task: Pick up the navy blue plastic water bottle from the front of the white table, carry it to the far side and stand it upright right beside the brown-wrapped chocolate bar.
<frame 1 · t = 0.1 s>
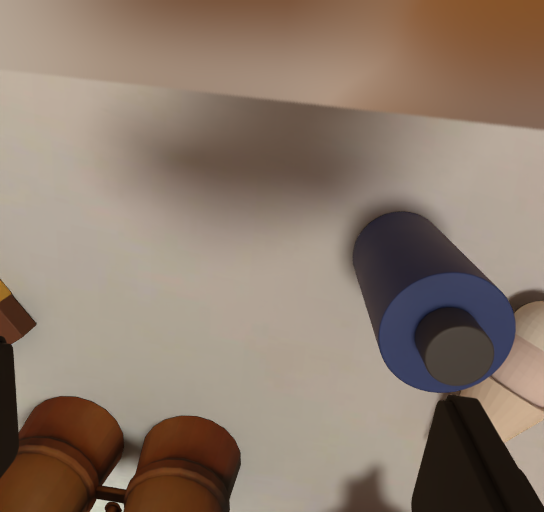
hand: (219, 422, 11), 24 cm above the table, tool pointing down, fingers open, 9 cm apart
water bottle: (398, 255, 34), on the table
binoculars: (133, 445, 41), on the table
ice cream cone: (484, 370, 37), on the table
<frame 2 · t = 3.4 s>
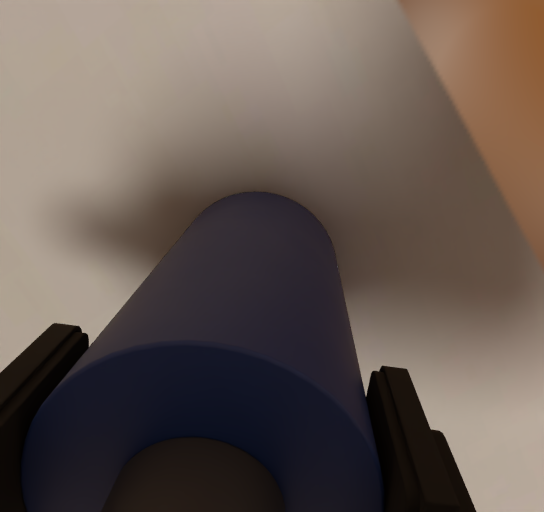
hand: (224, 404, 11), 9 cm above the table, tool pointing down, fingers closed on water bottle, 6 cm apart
water bottle: (257, 269, 20), on the table, touching gripper
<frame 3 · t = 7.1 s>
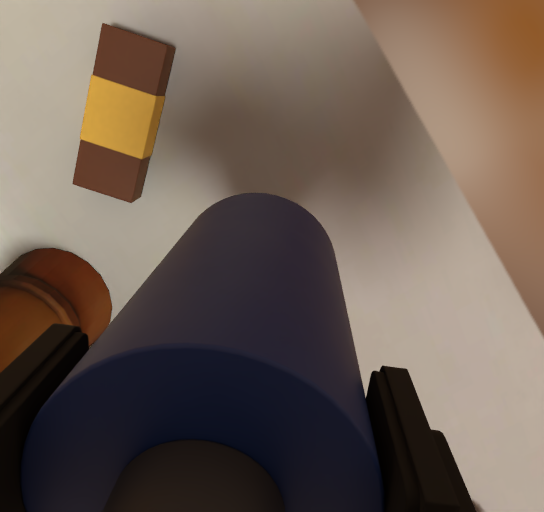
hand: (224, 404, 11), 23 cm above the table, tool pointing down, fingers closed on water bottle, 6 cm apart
water bottle: (257, 270, 20), point 14 cm above the table, touching gripper
chocolate bar: (128, 116, 32), on the table
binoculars: (98, 350, 38), on the table
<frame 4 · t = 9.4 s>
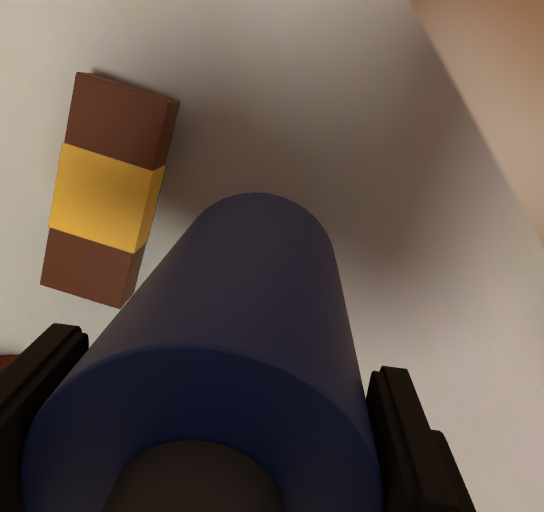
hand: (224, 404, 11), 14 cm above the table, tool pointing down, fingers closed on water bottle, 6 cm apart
water bottle: (257, 270, 20), point 5 cm above the table, touching gripper
chocolate bar: (115, 191, 24), on the table
when the fingers open (9 cm above the table, at t = 11.0 s): water bottle stays where it is, on the table.
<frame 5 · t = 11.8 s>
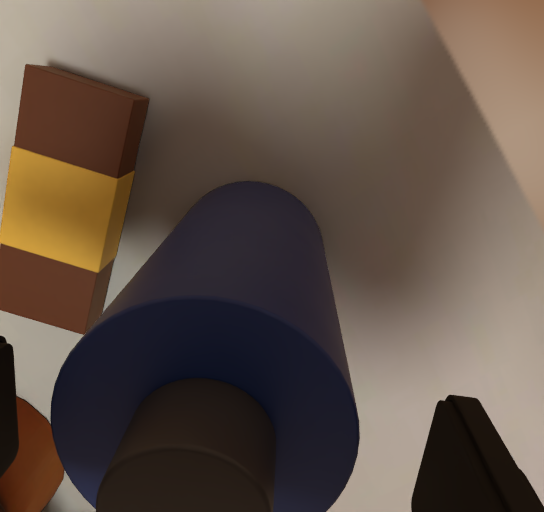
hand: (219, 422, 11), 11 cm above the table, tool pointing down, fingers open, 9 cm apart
water bottle: (250, 253, 21), on the table
chocolate bar: (78, 200, 21), on the table
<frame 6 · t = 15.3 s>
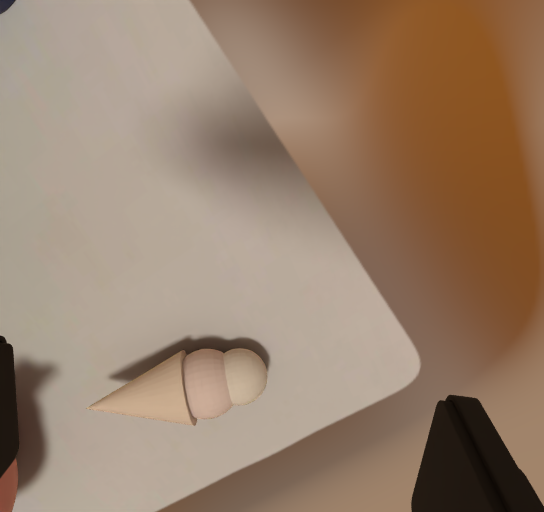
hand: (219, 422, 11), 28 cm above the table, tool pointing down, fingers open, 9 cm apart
ice cream cone: (187, 368, 43), on the table
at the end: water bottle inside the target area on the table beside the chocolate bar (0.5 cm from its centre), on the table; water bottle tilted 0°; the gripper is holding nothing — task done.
